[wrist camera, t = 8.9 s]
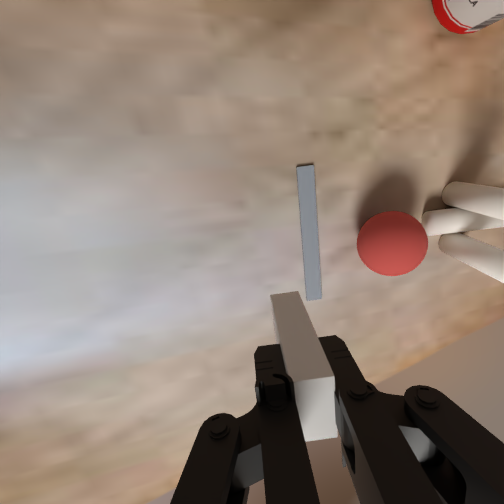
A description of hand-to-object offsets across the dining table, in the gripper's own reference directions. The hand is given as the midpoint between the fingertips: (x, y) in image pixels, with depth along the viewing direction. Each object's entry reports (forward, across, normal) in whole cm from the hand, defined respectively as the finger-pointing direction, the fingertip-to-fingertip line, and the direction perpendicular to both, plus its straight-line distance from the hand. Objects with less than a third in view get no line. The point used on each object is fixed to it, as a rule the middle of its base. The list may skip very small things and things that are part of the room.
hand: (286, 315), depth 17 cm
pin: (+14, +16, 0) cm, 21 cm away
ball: (+12, +12, -1) cm, 17 cm away
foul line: (+15, +5, -1) cm, 16 cm away
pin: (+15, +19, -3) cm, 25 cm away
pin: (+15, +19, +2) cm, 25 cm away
